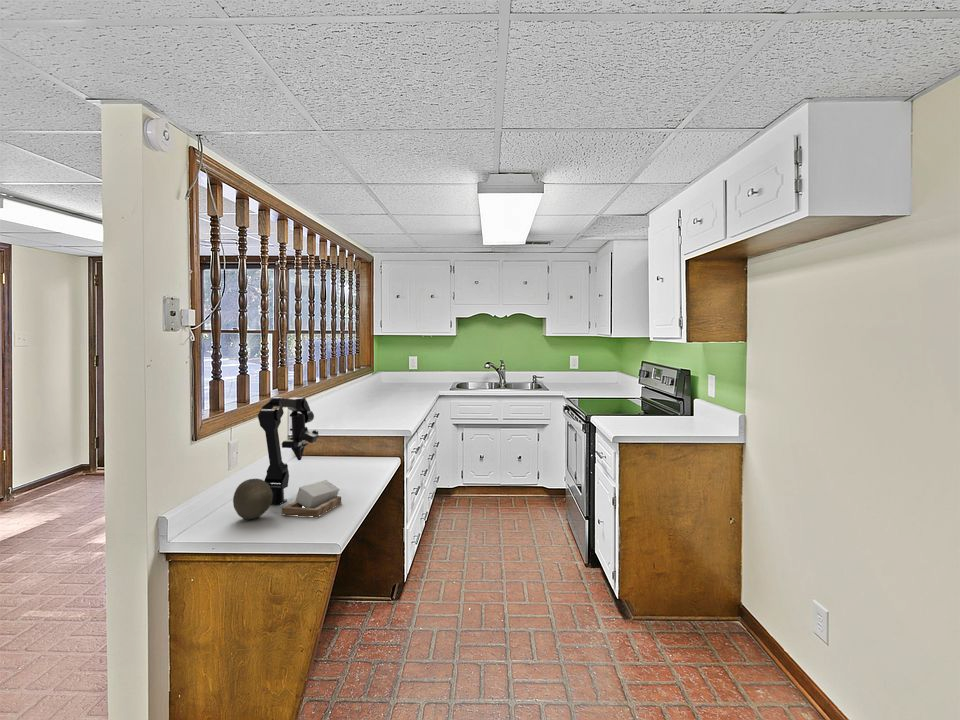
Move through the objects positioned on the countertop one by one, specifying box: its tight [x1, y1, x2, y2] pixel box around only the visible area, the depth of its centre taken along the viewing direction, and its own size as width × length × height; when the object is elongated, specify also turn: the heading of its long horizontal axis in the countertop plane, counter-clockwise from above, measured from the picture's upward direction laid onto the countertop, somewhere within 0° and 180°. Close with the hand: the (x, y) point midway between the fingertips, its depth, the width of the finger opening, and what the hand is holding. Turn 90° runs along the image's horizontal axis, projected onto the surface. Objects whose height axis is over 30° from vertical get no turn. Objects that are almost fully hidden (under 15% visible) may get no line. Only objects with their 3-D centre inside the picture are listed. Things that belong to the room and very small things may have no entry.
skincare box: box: [294, 479, 340, 508], centre depth 248 cm, size 8×7×16 cm
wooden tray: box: [281, 495, 342, 518], centre depth 243 cm, size 20×15×3 cm
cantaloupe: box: [232, 478, 273, 520], centre depth 232 cm, size 14×14×15 cm
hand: (299, 460), depth 275 cm, fingers closed
